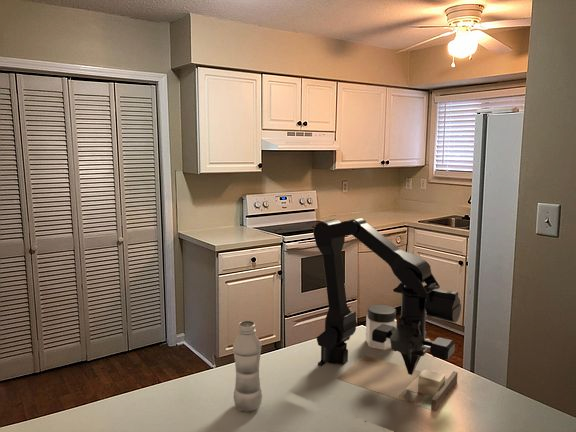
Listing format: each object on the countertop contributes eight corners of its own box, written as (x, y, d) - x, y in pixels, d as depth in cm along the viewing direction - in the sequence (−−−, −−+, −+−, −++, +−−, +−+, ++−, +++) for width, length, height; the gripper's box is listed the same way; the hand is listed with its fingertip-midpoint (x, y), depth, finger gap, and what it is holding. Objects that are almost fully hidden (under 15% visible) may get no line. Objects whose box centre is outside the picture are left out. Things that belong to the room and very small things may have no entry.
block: (417, 391, 112) (418, 375, 111) (423, 384, 115) (424, 369, 114) (438, 398, 109) (439, 381, 108) (444, 390, 112) (445, 375, 111)
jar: (379, 357, 133) (380, 316, 131) (359, 346, 140) (360, 308, 138) (401, 349, 138) (403, 310, 136) (381, 340, 145) (382, 302, 143)
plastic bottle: (240, 418, 103) (239, 331, 100) (229, 403, 109) (227, 321, 106) (267, 411, 106) (266, 326, 103) (255, 397, 112) (254, 316, 109)
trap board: (336, 384, 118) (336, 369, 118) (365, 360, 131) (365, 346, 130) (435, 417, 104) (436, 400, 103) (456, 387, 117) (457, 372, 116)
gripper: (362, 313, 111) (360, 376, 114) (441, 332, 100) (438, 400, 103) (382, 301, 120) (380, 359, 122) (457, 317, 109) (453, 380, 112)
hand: (410, 373), depth 115 cm, fingers closed
